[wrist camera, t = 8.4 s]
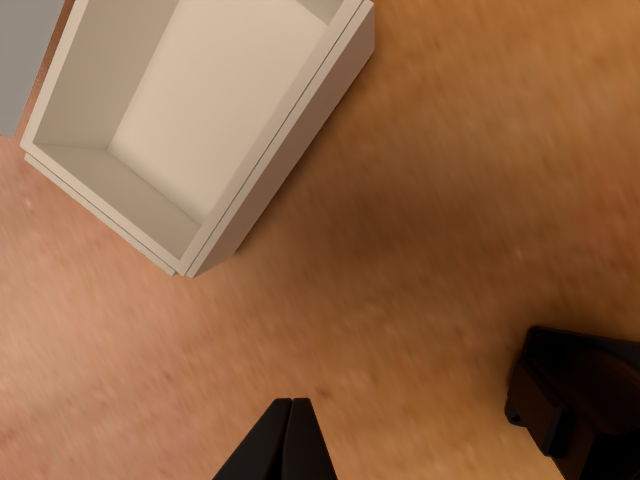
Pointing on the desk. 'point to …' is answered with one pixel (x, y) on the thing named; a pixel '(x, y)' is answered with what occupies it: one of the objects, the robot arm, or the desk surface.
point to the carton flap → (22, 53)
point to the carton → (191, 113)
